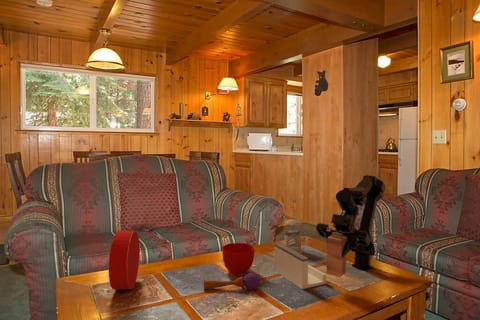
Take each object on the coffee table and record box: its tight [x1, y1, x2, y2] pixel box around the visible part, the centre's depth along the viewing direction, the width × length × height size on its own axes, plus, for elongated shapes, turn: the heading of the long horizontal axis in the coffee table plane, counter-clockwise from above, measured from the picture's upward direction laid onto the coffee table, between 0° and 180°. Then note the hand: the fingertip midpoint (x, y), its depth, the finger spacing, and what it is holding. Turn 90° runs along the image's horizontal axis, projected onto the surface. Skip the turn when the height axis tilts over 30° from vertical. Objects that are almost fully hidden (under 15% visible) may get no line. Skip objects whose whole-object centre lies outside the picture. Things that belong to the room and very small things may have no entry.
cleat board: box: [273, 242, 327, 290], centre depth 132 cm, size 11×19×11 cm, turn 26°
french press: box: [283, 199, 308, 254], centre depth 162 cm, size 10×12×25 cm
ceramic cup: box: [221, 242, 256, 276], centre depth 138 cm, size 13×17×10 cm
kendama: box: [203, 272, 261, 291], centre depth 121 cm, size 6×6×20 cm
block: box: [325, 232, 347, 278], centre depth 120 cm, size 5×5×15 cm
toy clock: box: [108, 230, 140, 290], centre depth 121 cm, size 20×6×20 cm, turn 5°
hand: (334, 254), depth 119 cm, fingers closed on block, 5 cm apart
